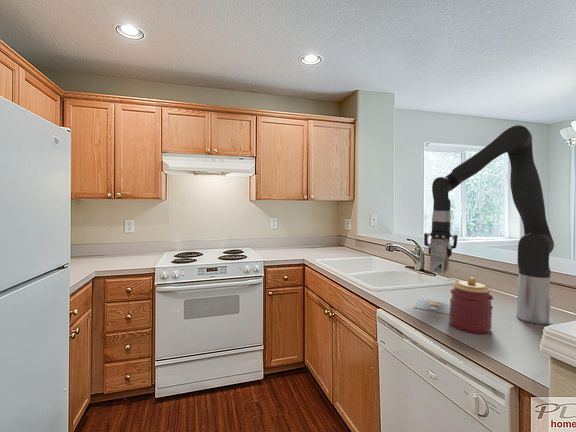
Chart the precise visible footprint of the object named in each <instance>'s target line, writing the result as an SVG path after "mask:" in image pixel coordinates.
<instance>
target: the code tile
mask: <svg viewBox="0 0 576 432" xmlns="http://www.w3.org/2000/svg"><path fill="white" fill-rule="evenodd" d="M413 309H418V310H422V311H428V312H433V313H439V314H443V315H450V303H447V302H440V301H434V300H427V299H424V298H423V299H422V298H418V300H417V301H416V302H415V305H414V307H413Z"/></svg>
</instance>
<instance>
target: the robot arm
mask: <svg viewBox="0 0 576 432" xmlns="http://www.w3.org/2000/svg"><path fill="white" fill-rule="evenodd" d="M505 153H507V155H508V158H509V164H510V179H509V181H510V183H509V184H510V191H511V195H512V196H511V197H512V201H513V204H514V206H515V208H516V210H517V212H518V214H519V217H520V218H521V221H522V226H523V231H524V235H523V236H522V237H520V239H519V241H518V245H517V267H518V278H517V279H518V283H517V297H516V301H517V302H516V312H515V313H516V314H515V315H516V318H517V319H520V320H521V321H524V322H528V323H533V324H538V325H549V324H550V315H551V314H550V313H551V298H550V283H551V273H552V272H551V269H550V254H551V253H552V251H554V248H555V243H554V239H553V236H552V234H551V231H550V227H549V225H548V222H547V217H546V210H545V209H546V207H545V200H544V193H543V189H542V187H543V186H542V183H541V179H540V176H539V173H538V169H537V167H536V164H535V160H534V153H533V135H532V133H531V132H530V130H529V129H528V128H527V127H526V126H523V125H521V124H520V125H519V124H517V125H516V124H515V125H512V126H509V127H507V128H506V129H505V130H504V131H503V132H502V133H500V134H498V136H497V137H496V138H495V139H493V140H492V141H491V142H490V143H488V145H486V146H485V147H484V148H482V149H481V150H480V151H478V152H477V153H475V154H473V155H472V156H470V157H469V158H467V159H466V160H465V161H463V162H462V163H460V164H458V165H457V166H456V167H454V168H453V169H452V170H451V172H450V173H448V174H447V175H446V176H438V177H436V178H435V179H433V181H432V185H431V192H432V199H433V208H432V209H433V211H432V217H431V220H432V221H431V232H428V233H427V232H424V234H423V239H424V241H423V243H424V246H425V247H427V248H428V255H430V253H431V242H430V243H428V242H429V240H428V238H431V237H442V238H448V239H449V238H451V239H452V241H453V245H451V243H450V242H448V241H447V245H448V248H449V249H448V257H449V258H450V257H452V253H453V251H452V250H453V249H456V248H457V245H458V238H459V237H458V236H459V235H457V234H451V219H452V216H451V215H452V214H451V207H452V206H451V204H452V203H451V199H450V198H449V192H450V191H451V192H452V191H453V190H454V189H456V188H457V187H458V186H459V185H461V184H462V183H463V182H464V181H467V180H468V179H469V178H472V177H473V176H475V175H477V174H478V173H479V172H480V171H482V170H483V169H484V168H485V167H486V166H488V165H489V164H490V163H491V162H492V161H494V160H495V159H497V158H498V157H499V156H502V155H504V154H505Z"/></svg>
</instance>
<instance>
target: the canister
mask: <svg viewBox="0 0 576 432" xmlns="http://www.w3.org/2000/svg"><path fill="white" fill-rule="evenodd" d="M452 285H453V288H452V289H450V294H451V298H450V299H449V302H450V303H449V304H450V315H449V316H448V319H449V324H450V325H451V326H452V327H453V328H455V329H458V330H460V331H463V332H465V333H466V332H467V333H470V334H477V335H478V334H479V335H481V334H482V335H483V334H489V333H490V332H492V331H491V330H492V326H493V323H492V317H493V316H492V314H493V308H494V307H493V305H492V300H493V299H494V296H493V295H492V294H490V293H491V291H492V290H491V289H490V288H489V287H487V286H486V285H485V284H483V283H480V282H477V279H476V278H475V277H468V278H467V280H460V281H458V282H455V283H453V284H452Z"/></svg>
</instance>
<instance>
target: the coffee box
mask: <svg viewBox="0 0 576 432" xmlns="http://www.w3.org/2000/svg"><path fill="white" fill-rule="evenodd" d="M450 238H451V237H450ZM450 238H449V239H448V238H442V237H431V236H430V243H431V253H430V254H429V257H430V259H429V272H430V273H434V274H435V273H436V274H442V275H446V273H447V272H448V271H449V270H450V269H449V267H450V266H449V265H450V263H449V262H450V257H448V249H449V248H448V245H447V241H448V242H449V243H450V242H451V241H450Z"/></svg>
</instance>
